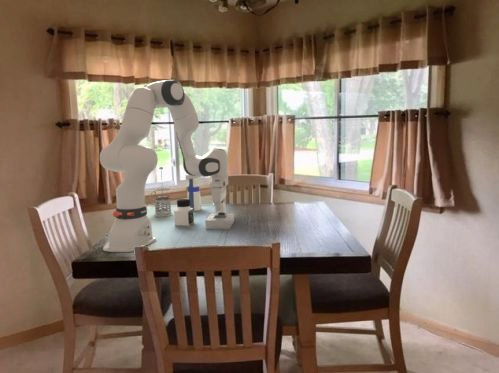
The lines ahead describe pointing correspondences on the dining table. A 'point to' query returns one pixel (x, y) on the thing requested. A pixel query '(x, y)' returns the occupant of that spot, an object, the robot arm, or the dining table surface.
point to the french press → (166, 200)
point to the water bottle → (193, 192)
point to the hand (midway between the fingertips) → (220, 208)
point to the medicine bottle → (183, 213)
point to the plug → (222, 205)
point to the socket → (219, 221)
